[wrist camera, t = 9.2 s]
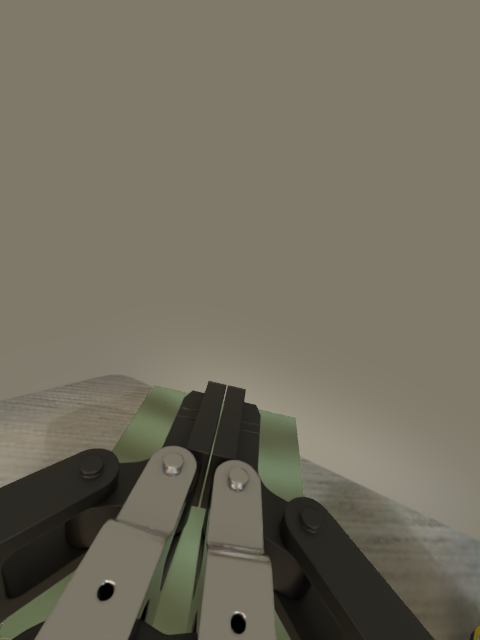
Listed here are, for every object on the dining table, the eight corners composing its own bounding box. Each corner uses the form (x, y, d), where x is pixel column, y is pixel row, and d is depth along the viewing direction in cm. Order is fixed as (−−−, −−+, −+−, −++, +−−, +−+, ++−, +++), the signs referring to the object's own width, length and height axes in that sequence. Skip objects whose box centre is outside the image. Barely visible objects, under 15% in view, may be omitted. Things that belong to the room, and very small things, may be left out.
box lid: (152, 392, 27) (153, 384, 26) (293, 425, 27) (295, 417, 26) (-5, 648, 12) (-7, 636, 11) (322, 728, 11) (329, 719, 11)
